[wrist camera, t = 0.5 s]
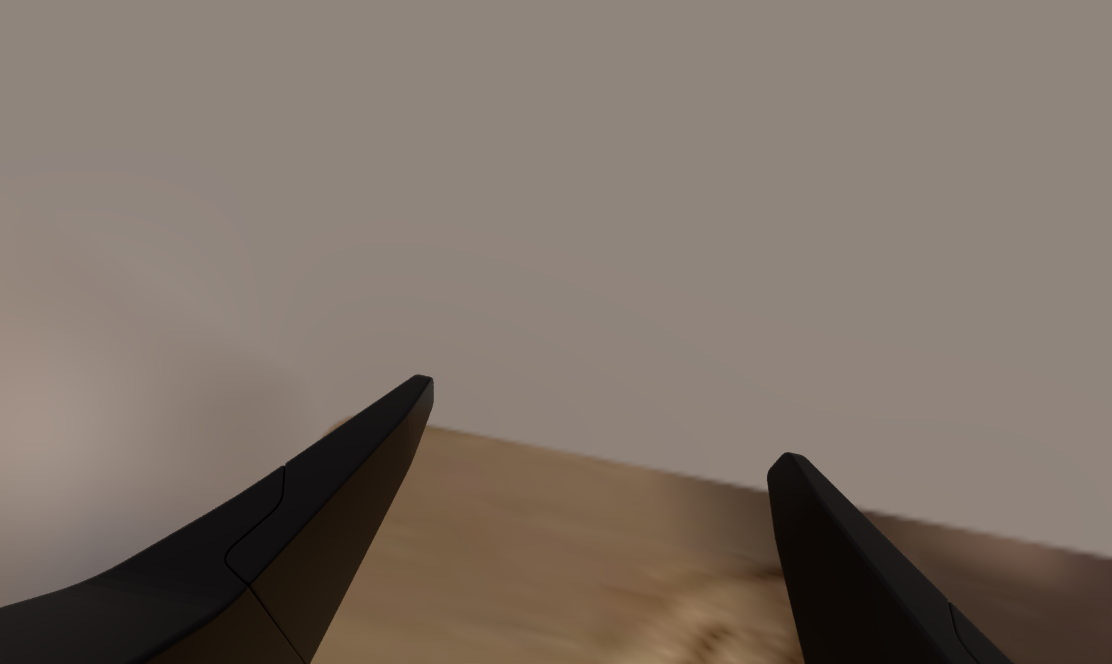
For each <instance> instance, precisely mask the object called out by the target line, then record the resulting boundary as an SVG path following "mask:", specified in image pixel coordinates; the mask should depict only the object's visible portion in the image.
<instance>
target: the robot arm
mask: <svg viewBox="0 0 1112 664" xmlns="http://www.w3.org/2000/svg"><path fill="white" fill-rule="evenodd" d="M433 384H434V382H433V378H431V377H429V376H424V375H419V374H418V375H414V376H413V377H411V378H410V379H409V380H407V381H405V382H404V383H402V384H401V385H399V386H398V387H397V388H395V389H394V390H392V391H391V392H389V393H388V394H386V395H385V396H383V397H382V398H380V399H379V400H377V401H376V402H375V403H373V404H372V405H370V406H369V407H367V408H366V409H364V410H363V411H361V412H360V413H358V414H357V415H355V416H354V417H353V418H351V419H350V420H348V421H347V422H345V423H344V424H342V425H341V426H339V427H338V428H336V429H335V430H333V431H332V432H331V433H329V434H328V435H326V436H325V437H323V438H322V439H320V440H319V441H317V442H316V443H314V444H313V445H312V446H310V447H309V448H307V449H306V450H304V451H303V452H301V453H300V454H298V455H297V456H295V457H294V458H292V459H291V460H290V461H288V462H287V463H286V464H285V466H280V467H279V468H278V469H276V470H275V471H273V472H272V473H270V474H269V475H268V476H266V477H264V478H263V479H261V480H260V481H258V482H257V483H255V484H254V485H252V486H251V487H249V488H247V489H246V490H244V491H243V492H242V493H240V494H238V495H237V496H235V497H233V498H232V499H230V500H228V501H227V502H225V503H224V504H222V505H220V506H219V507H217V508H215V509H213V510H212V511H210V512H208V513H207V514H205V515H203V516H202V517H200V518H198V519H196V520H195V521H193V522H191V523H189V524H188V525H186V526H184V527H183V528H181V529H179V530H177V531H176V532H174V533H172V534H170V535H169V536H167V537H166V538H164V539H162V540H160V541H158V542H157V543H155V544H153V545H151V546H150V547H148V548H146V549H145V550H143V551H141V552H139V553H138V554H136V555H135V556H132V557H131V558H129V559H127V560H125V561H124V562H122V563H120V564H118V565H116V566H114V567H113V568H111V569H109V570H107V571H105V572H103V573H101V574H98V575H97V576H94V577H92V578H89V579H87V580H85V581H82V582H80V583H78V584H75V585H73V586H70V587H67V588H64V589H61V590H58V591H55V592H52V593H49V594H45V595H41V596H38V597H35V598H32V599H28V600H25V601H21V602H18V603H14V604H11V605H8V606H4V607H1V608H0V664H310V663H311V661H312V659H313V657H314V655H315V653H316V651H317V649H318V647H319V645H320V643H321V641H322V639H323V637H324V635H325V633H326V631H327V629H328V627H329V625H330V623H331V621H332V619H333V617H334V615H335V613H336V611H337V610H338V608H339V606H340V604H341V602H342V600H343V598H344V596H345V594H346V592H347V590H348V588H349V586H350V584H351V582H352V580H353V578H354V576H355V574H356V572H357V570H358V568H359V566H360V564H361V562H362V560H363V558H364V556H365V554H366V552H367V551H368V549H369V547H370V545H371V543H372V541H373V539H374V537H375V535H376V533H377V531H378V529H379V527H380V525H381V523H382V521H383V519H384V517H385V515H386V513H387V511H388V509H389V507H390V505H391V503H392V501H393V499H394V497H395V495H396V493H397V491H398V490H399V488H400V486H401V484H402V482H403V480H404V478H405V476H406V474H407V472H408V470H409V468H410V465H411V463H412V461H413V458H414V456H415V453H416V450H417V448H418V445H419V442H420V439H421V437H422V434H423V431H424V429H425V426H426V423H427V421H428V418H429V415H430V412H431V410H432V406H433V402H434V385H433ZM767 482H768V490H769V498H770V505H771V513H772V520H773V528H774V534H775V540H776V545H777V549H778V553H779V558H780V562H781V566H782V570H783V574H784V579H785V583H786V587H787V591H788V595H789V600H790V604H791V608H792V612H793V616H794V620H795V625H796V629H797V633H798V637H799V641H800V646H801V650H802V654H803V658H804V662H805V664H1014V663H1013V662H1012V661H1011V660H1010V659H1009V658H1008V657H1006V656H1005V655H1004V654H1003V653H1002V652H1001V651H1000V650H999V649H998V648H997V647H996V646H995V645H994V644H993V643H992V642H991V641H990V640H989V639H988V638H987V637H986V636H985V635H984V634H983V633H982V632H980V631H979V630H978V629H977V628H976V627H975V626H974V625H973V624H972V623H971V622H970V621H969V620H968V619H967V618H966V617H965V616H964V615H963V614H962V613H961V612H960V611H959V610H958V609H957V608H956V607H955V606H954V605H953V604H952V603H951V602H948V599H947V598H946V597H945V596H944V595H943V594H942V593H941V592H940V591H939V590H938V589H937V588H936V587H935V586H934V585H933V584H932V583H931V582H930V581H929V580H928V579H927V578H926V577H925V576H924V575H923V574H922V573H921V572H920V571H919V570H918V569H917V568H916V567H915V566H914V565H913V564H912V563H911V562H910V561H909V560H908V559H907V558H906V557H905V556H904V555H903V554H902V553H901V552H900V551H899V550H898V549H897V548H896V547H895V546H894V545H893V544H892V543H891V542H890V541H889V540H888V539H887V538H886V537H885V536H884V535H883V534H882V533H881V532H880V531H879V530H878V529H877V528H876V527H875V526H874V525H873V524H872V523H871V522H870V521H869V520H868V519H867V518H866V517H865V516H864V515H863V514H862V513H861V512H860V511H859V510H858V509H857V508H856V507H855V506H854V505H853V504H852V503H851V502H850V501H849V500H848V499H847V498H846V497H845V496H844V495H843V494H842V493H841V492H840V491H839V490H838V489H837V488H836V487H835V486H834V485H833V484H832V483H831V482H830V481H829V480H828V479H827V478H826V477H824V475H823V474H822V473H821V472H820V471H819V470H818V469H817V468H816V467H814V465H813V464H812V463H810V461H809V460H807V459H806V458H805V457H804V456H802V455H799V454H794V453H790V452H787V453H784V454H783V455H782V456H781V457H780V458H779V459H778V460H777V461H776V462H775V463H774V465H773V466H772V467H771V468H770V469H769V471H768V475H767Z"/></svg>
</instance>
